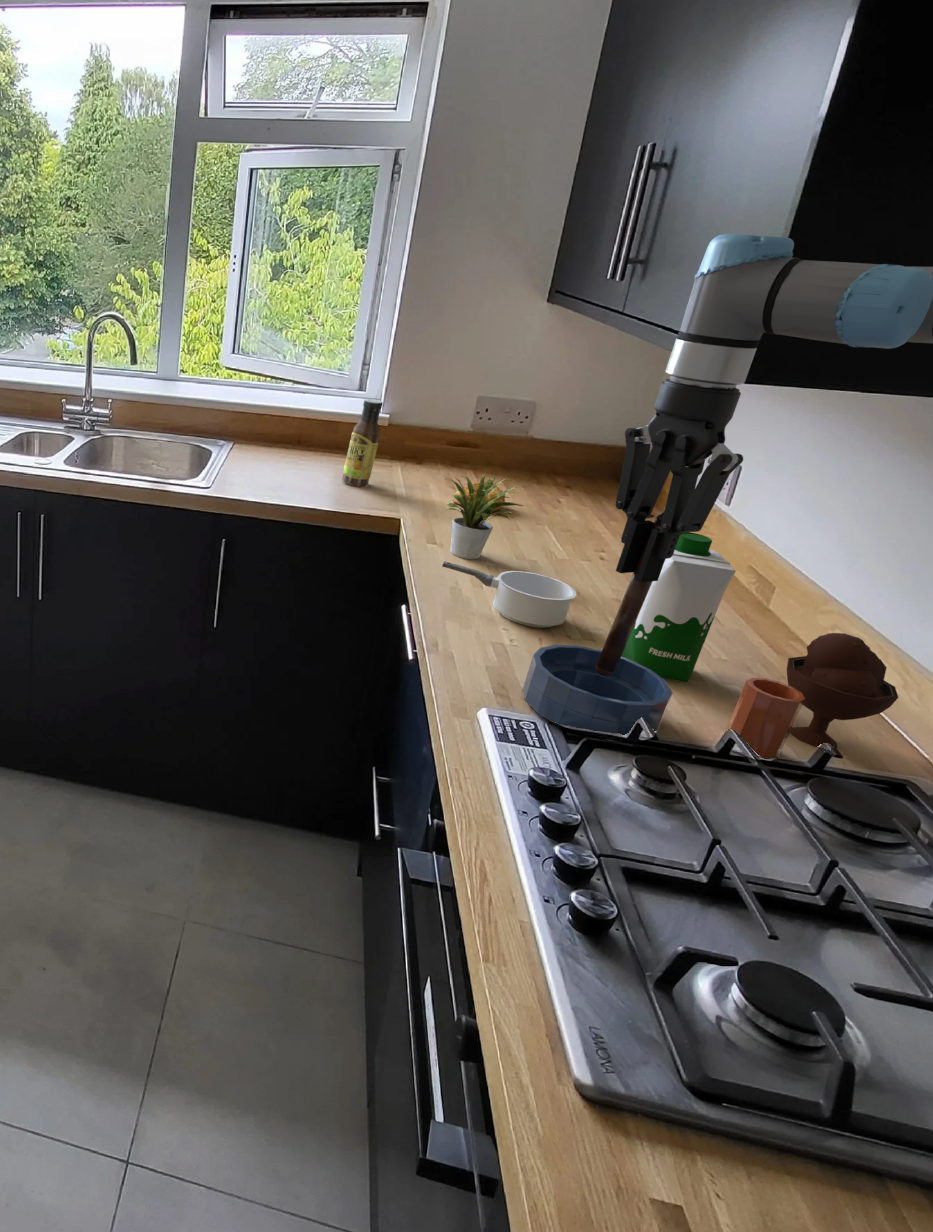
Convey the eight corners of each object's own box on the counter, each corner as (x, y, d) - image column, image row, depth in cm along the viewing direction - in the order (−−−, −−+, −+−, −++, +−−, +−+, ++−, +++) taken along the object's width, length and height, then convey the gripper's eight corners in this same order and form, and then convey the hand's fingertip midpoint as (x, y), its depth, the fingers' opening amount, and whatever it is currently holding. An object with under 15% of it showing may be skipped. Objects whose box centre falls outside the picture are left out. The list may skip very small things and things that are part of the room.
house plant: (448, 569, 162) (470, 483, 155) (407, 542, 174) (426, 461, 168) (516, 569, 165) (541, 484, 158) (471, 542, 177) (493, 462, 171)
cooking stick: (615, 680, 113) (685, 515, 105) (599, 678, 113) (668, 512, 105) (604, 672, 115) (672, 509, 107) (589, 670, 115) (655, 507, 107)
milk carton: (676, 662, 132) (725, 536, 125) (696, 690, 124) (750, 558, 117) (611, 650, 135) (655, 526, 127) (627, 677, 127) (675, 546, 119)
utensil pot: (786, 766, 108) (816, 702, 104) (743, 764, 107) (771, 700, 104) (752, 740, 113) (779, 678, 109) (710, 738, 112) (736, 676, 109)
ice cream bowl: (851, 776, 107) (906, 666, 101) (745, 731, 115) (790, 627, 109) (878, 751, 113) (931, 646, 107) (775, 710, 121) (819, 610, 115)
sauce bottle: (335, 480, 212) (352, 397, 204) (355, 479, 214) (372, 396, 207) (354, 488, 206) (372, 403, 199) (374, 487, 209) (393, 402, 201)
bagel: (444, 496, 206) (449, 476, 204) (492, 500, 206) (497, 480, 204) (460, 510, 197) (465, 489, 195) (510, 514, 196) (515, 493, 195)
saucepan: (442, 582, 156) (450, 552, 154) (569, 614, 146) (579, 583, 144) (429, 603, 147) (436, 571, 144) (562, 638, 137) (573, 606, 135)
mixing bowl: (684, 749, 110) (701, 707, 107) (563, 744, 109) (577, 702, 106) (607, 685, 124) (621, 647, 122) (500, 681, 123) (511, 642, 121)
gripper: (795, 396, 94) (717, 599, 103) (666, 370, 107) (607, 551, 116) (744, 396, 92) (669, 603, 101) (619, 369, 105) (563, 554, 114)
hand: (636, 575), depth 109 cm, fingers closed on cooking stick, 2 cm apart
